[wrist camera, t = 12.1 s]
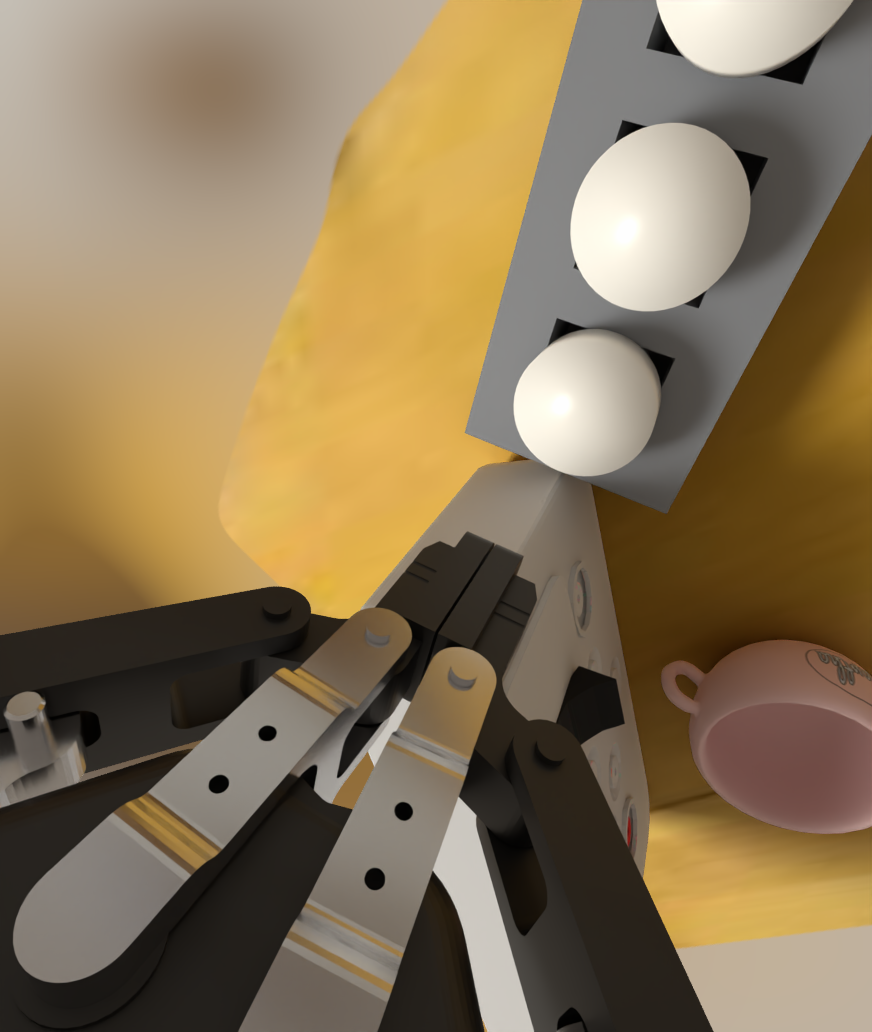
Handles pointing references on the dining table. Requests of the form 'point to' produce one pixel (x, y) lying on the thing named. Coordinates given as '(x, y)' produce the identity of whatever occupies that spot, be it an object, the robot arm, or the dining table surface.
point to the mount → (757, 266)
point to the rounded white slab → (539, 686)
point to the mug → (783, 734)
